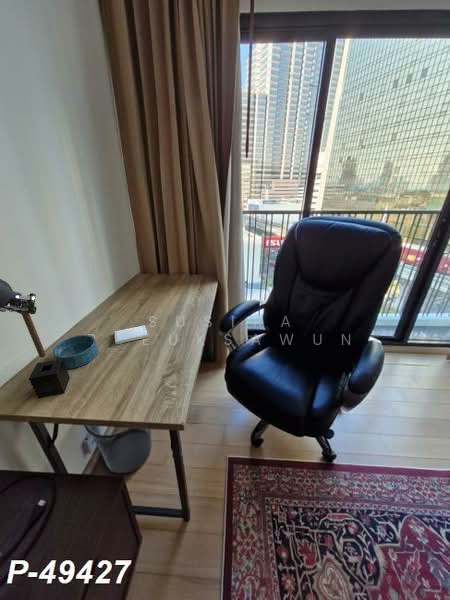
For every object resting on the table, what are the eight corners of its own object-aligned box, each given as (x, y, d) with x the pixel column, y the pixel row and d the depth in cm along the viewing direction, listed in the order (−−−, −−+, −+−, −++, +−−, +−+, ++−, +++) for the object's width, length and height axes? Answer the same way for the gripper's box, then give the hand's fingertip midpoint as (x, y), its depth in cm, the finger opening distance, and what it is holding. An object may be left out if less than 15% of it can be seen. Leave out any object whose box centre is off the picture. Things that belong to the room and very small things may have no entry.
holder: (38, 398, 75) (28, 378, 71) (45, 382, 81) (37, 362, 77) (64, 393, 76) (56, 373, 73) (70, 377, 83) (62, 358, 79)
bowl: (52, 373, 84) (47, 360, 82) (63, 350, 96) (59, 338, 93) (95, 365, 88) (91, 353, 85) (100, 344, 99) (97, 332, 97)
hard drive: (114, 341, 98) (147, 334, 102) (114, 331, 104) (144, 324, 109) (115, 345, 98) (148, 337, 103) (115, 334, 105) (145, 327, 109)
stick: (38, 358, 73) (15, 302, 65) (40, 354, 74) (17, 300, 66) (44, 357, 73) (22, 302, 65) (46, 353, 75) (24, 299, 67)
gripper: (16, 270, 55) (58, 296, 71) (-54, 273, 53) (5, 300, 70) (10, 302, 53) (55, 322, 69) (-63, 307, 51) (0, 326, 67)
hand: (29, 311), depth 69 cm, fingers closed on stick, 1 cm apart
